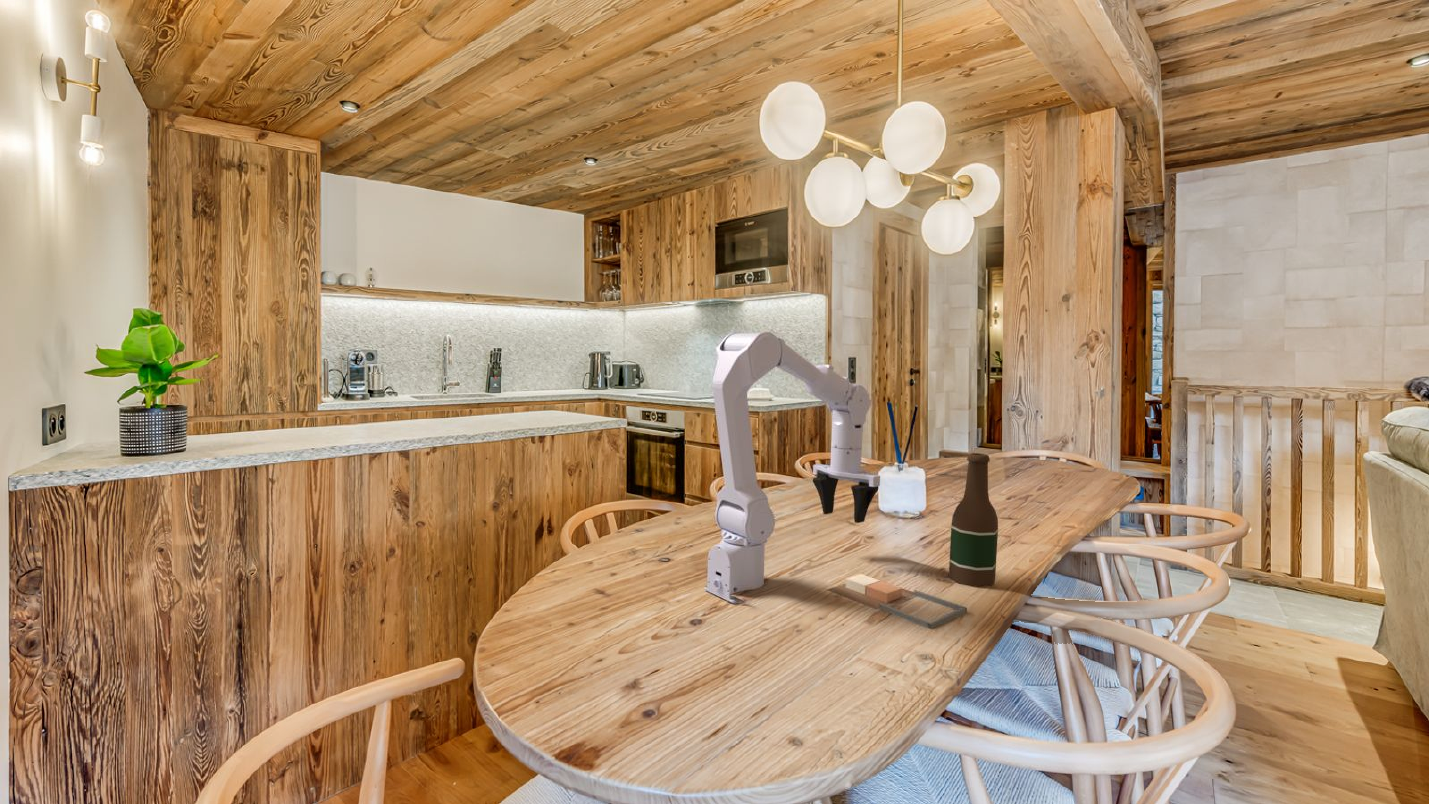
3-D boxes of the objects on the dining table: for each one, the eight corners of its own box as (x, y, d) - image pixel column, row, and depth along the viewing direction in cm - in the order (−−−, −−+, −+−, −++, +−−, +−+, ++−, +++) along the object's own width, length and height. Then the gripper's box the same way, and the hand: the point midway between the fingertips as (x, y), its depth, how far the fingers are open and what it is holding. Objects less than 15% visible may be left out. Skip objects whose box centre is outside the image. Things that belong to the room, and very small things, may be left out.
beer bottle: (999, 598, 110) (1007, 458, 108) (951, 593, 111) (958, 456, 109) (989, 582, 117) (997, 452, 115) (944, 578, 119) (951, 449, 117)
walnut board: (875, 618, 100) (875, 608, 100) (826, 598, 108) (826, 589, 108) (916, 602, 107) (916, 593, 107) (867, 584, 115) (867, 576, 114)
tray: (930, 638, 93) (930, 623, 93) (878, 617, 100) (879, 604, 100) (966, 621, 99) (967, 607, 99) (915, 603, 106) (916, 590, 106)
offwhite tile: (864, 594, 106) (865, 585, 106) (845, 587, 109) (846, 578, 109) (879, 589, 108) (880, 580, 108) (860, 582, 111) (860, 573, 111)
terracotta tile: (886, 602, 102) (887, 593, 102) (866, 595, 105) (866, 586, 105) (901, 597, 105) (902, 588, 105) (881, 589, 108) (881, 581, 108)
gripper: (891, 450, 119) (887, 522, 120) (830, 441, 130) (827, 507, 131) (867, 453, 114) (864, 528, 115) (807, 443, 126) (804, 511, 127)
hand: (843, 517), depth 123 cm, fingers open, 7 cm apart
